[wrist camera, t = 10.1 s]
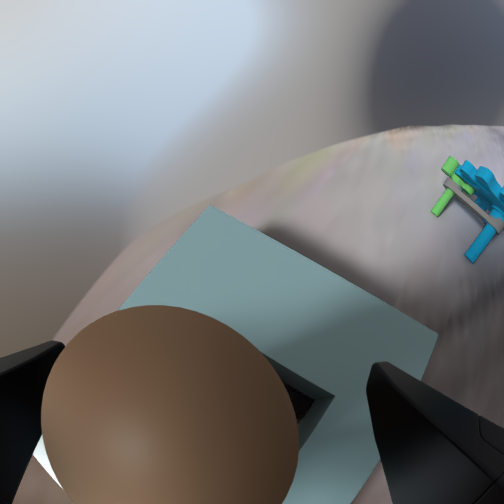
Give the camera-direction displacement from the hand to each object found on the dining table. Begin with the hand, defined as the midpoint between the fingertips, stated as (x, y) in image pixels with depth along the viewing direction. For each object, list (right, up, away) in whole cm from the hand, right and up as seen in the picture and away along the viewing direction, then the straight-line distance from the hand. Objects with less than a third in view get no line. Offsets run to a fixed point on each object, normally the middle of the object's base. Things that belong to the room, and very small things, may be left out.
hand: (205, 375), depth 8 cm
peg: (0, -6, +7) cm, 9 cm away
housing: (0, -5, +7) cm, 9 cm away
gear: (+20, +5, +13) cm, 24 cm away
